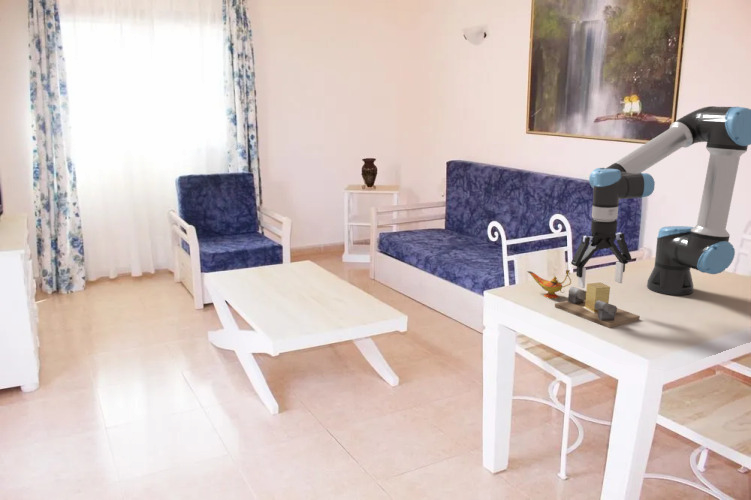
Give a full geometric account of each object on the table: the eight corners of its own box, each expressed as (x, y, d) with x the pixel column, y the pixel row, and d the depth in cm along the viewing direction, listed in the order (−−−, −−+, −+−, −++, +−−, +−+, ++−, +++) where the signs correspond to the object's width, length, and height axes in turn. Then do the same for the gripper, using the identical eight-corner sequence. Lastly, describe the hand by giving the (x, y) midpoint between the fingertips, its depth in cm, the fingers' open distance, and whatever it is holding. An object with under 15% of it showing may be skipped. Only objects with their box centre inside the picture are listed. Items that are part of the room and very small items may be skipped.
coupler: (598, 305, 202) (600, 282, 200) (607, 310, 197) (610, 286, 195) (584, 307, 201) (587, 283, 199) (594, 312, 196) (596, 288, 194)
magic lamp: (532, 287, 226) (534, 258, 223) (575, 299, 213) (577, 268, 210) (520, 290, 222) (522, 261, 219) (563, 303, 208) (566, 272, 206)
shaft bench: (639, 319, 194) (641, 301, 192) (609, 327, 187) (610, 309, 185) (584, 300, 212) (585, 283, 210) (554, 306, 205) (556, 289, 204)
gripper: (575, 224, 185) (571, 292, 191) (646, 218, 191) (641, 283, 197) (562, 220, 192) (558, 285, 198) (631, 213, 198) (626, 277, 204)
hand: (599, 284), depth 197 cm, fingers open, 13 cm apart
